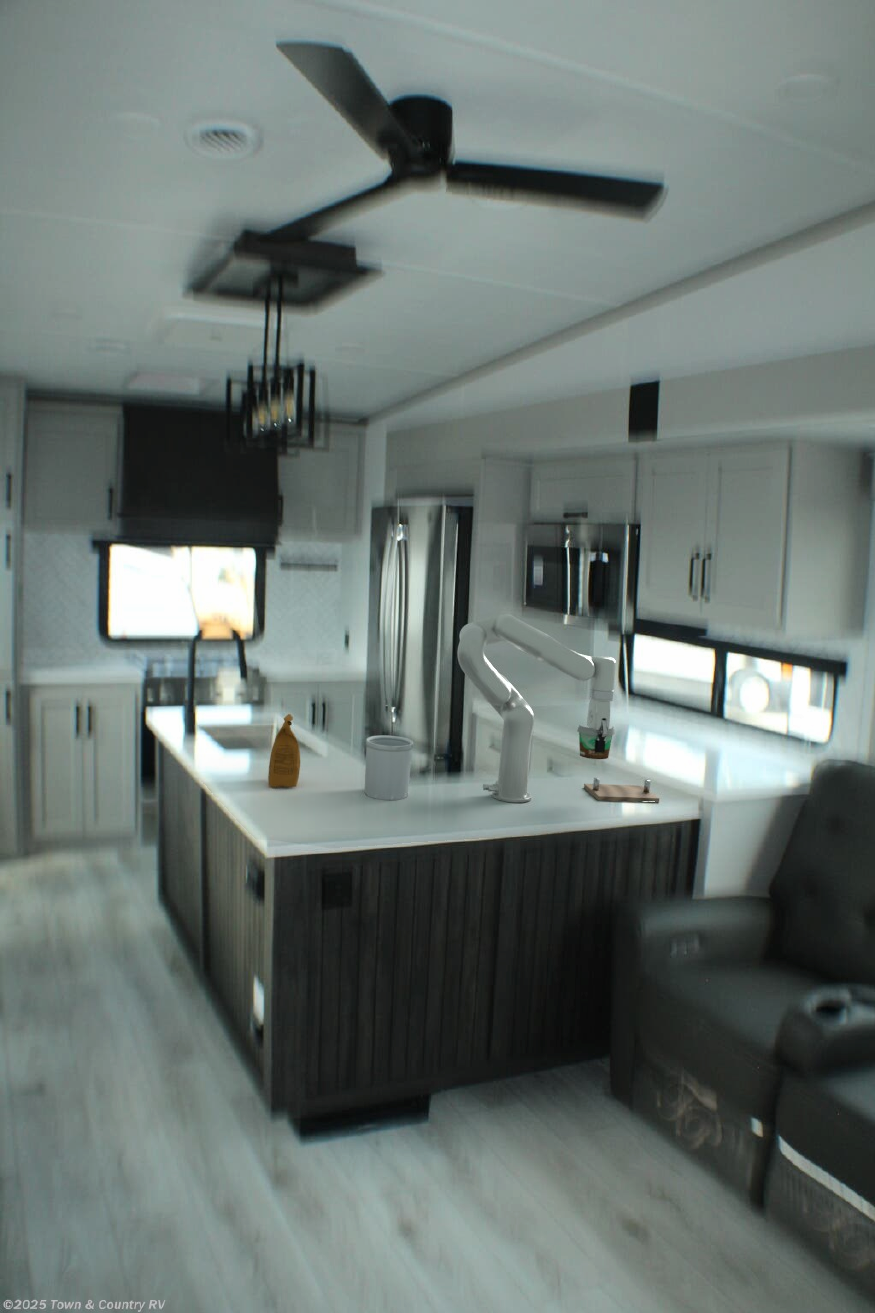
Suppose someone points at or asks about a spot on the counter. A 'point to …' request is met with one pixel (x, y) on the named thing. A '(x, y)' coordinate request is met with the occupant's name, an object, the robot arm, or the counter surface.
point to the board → (621, 792)
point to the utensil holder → (387, 767)
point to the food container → (593, 743)
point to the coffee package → (284, 758)
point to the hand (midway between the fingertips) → (596, 749)
